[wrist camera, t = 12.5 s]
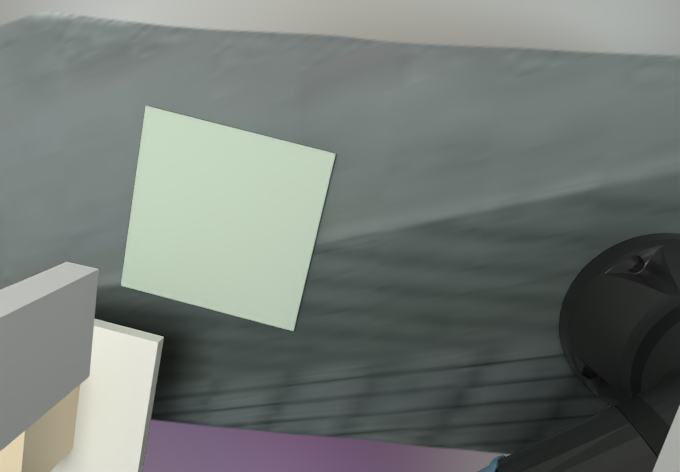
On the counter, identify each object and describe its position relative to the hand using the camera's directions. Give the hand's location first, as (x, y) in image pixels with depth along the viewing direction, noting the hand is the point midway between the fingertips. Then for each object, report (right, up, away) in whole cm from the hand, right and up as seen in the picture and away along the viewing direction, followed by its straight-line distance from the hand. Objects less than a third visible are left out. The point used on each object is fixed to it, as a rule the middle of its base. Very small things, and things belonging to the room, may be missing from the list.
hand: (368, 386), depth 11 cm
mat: (-11, +5, +31) cm, 33 cm away
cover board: (-22, -9, +28) cm, 37 cm away
